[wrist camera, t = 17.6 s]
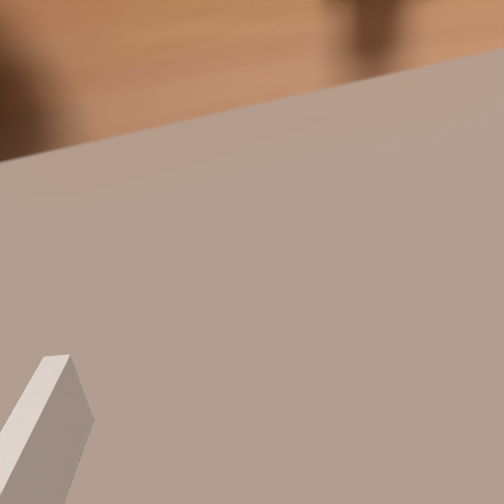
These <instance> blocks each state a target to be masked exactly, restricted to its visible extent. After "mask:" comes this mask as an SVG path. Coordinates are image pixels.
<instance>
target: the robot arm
mask: <svg viewBox="0 0 504 504" xmlns="http://www.w3.org/2000/svg"><path fill="white" fill-rule="evenodd" d="M93 422H94V418H93V415H92V412H91V410H90V408H89V404H88V402H87V399H86V396H85V393H84V391H83V388H82V385H81V383H80V380H79V377H78V374H77V372H76V369H75V366H74V363H73V361H72V358H71V355H60V356H46V357H44V358H43V359H42V361H41V363H40V365H39V366H38V368H37V370H36V372H35V373H34V375H33V377H32V378H31V380H30V382H29V384H28V386H27V387H26V389H25V391H24V393H23V395H22V396H21V398H20V400H19V401H18V403H17V405H16V406H15V408H14V410H13V412H12V413H11V415H10V417H9V419H8V420H7V422H6V424H5V426H4V427H3V429H2V431H1V432H0V504H64V502H65V500H66V497H67V494H68V491H69V488H70V485H71V483H72V480H73V477H74V475H75V471H76V469H77V466H78V463H79V461H80V458H81V455H82V452H83V449H84V447H85V444H86V441H87V438H88V435H89V433H90V430H91V427H92V424H93Z"/></svg>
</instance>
